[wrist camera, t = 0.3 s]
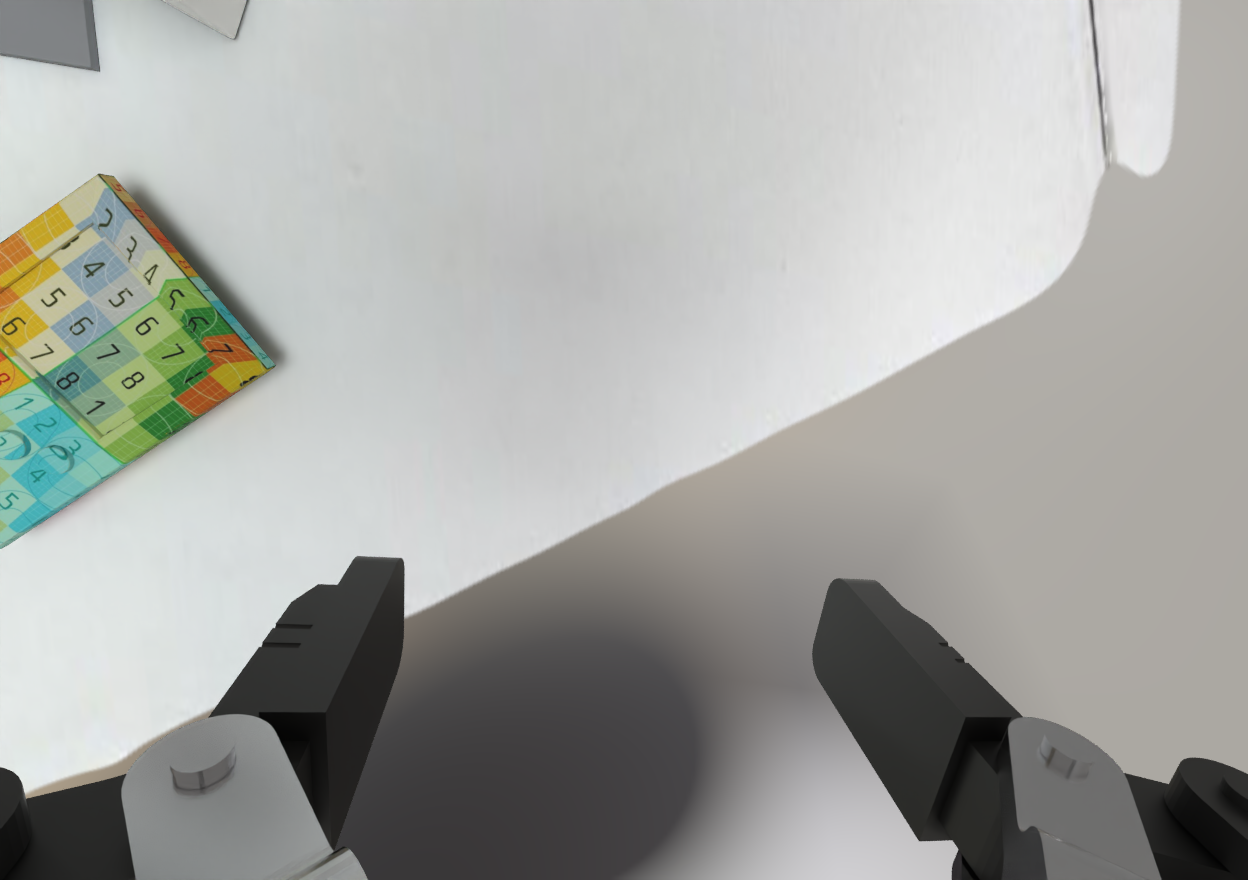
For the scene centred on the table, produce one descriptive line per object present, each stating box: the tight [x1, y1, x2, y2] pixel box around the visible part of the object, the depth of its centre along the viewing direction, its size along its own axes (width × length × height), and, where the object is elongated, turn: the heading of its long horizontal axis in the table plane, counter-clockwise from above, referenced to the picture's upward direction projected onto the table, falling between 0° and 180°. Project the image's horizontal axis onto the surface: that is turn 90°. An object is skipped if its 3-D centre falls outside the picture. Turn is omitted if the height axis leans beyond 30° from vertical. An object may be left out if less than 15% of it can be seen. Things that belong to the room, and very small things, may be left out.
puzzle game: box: [0, 174, 276, 549], centre depth 32 cm, size 12×5×20 cm
